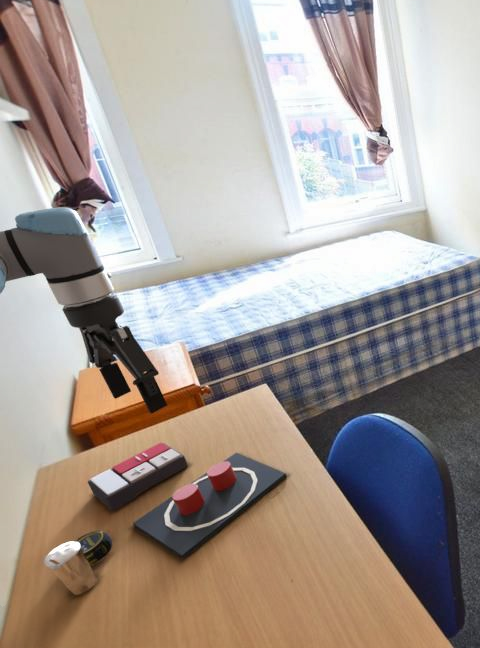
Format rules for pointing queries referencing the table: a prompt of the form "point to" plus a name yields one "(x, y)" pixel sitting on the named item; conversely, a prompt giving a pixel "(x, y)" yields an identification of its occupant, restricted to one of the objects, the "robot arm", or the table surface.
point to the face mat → (209, 507)
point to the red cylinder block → (188, 499)
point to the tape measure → (95, 545)
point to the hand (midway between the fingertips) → (140, 401)
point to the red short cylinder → (221, 476)
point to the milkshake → (71, 567)
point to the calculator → (136, 475)
